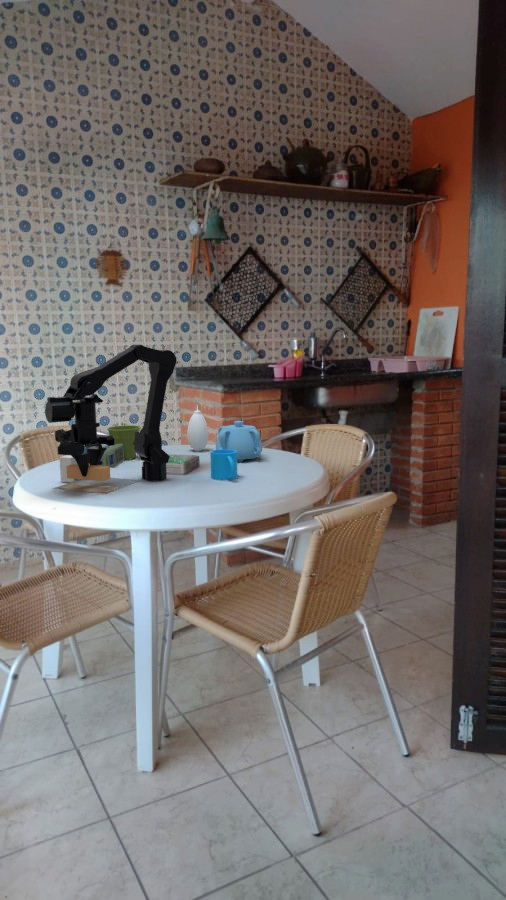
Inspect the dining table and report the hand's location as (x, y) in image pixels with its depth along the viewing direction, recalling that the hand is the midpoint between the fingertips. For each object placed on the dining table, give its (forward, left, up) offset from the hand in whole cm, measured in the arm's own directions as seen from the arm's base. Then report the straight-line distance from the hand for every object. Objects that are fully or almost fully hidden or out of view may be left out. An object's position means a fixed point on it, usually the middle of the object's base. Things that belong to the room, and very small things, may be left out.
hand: (88, 475), depth 181 cm
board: (+1, -5, -5) cm, 7 cm away
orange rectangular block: (0, 0, -1) cm, 1 cm away
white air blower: (+1, -70, -5) cm, 70 cm away
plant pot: (+19, -47, -5) cm, 51 cm away
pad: (0, 0, -4) cm, 4 cm away
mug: (-29, -29, -5) cm, 42 cm away
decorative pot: (-20, -60, -5) cm, 64 cm away
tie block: (+11, -7, -4) cm, 14 cm away
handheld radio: (+15, -31, -5) cm, 35 cm away
